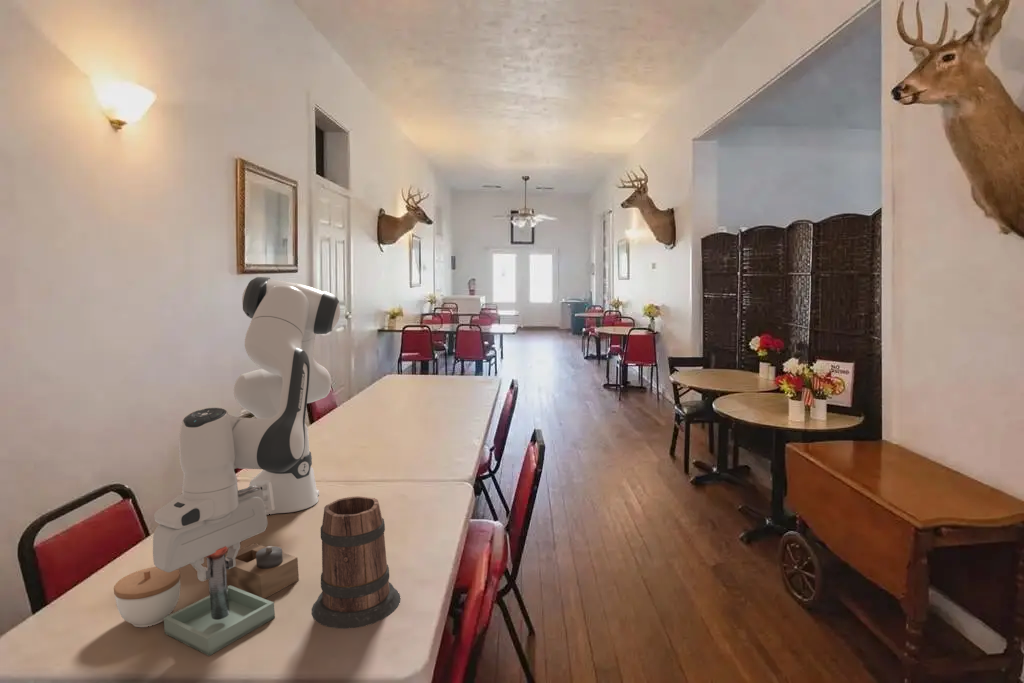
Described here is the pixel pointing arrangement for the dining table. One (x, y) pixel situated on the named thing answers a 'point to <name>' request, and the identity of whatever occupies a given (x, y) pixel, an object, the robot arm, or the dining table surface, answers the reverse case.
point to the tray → (218, 621)
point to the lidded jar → (147, 596)
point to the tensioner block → (263, 570)
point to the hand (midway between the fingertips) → (217, 573)
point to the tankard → (354, 566)
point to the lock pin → (218, 584)
